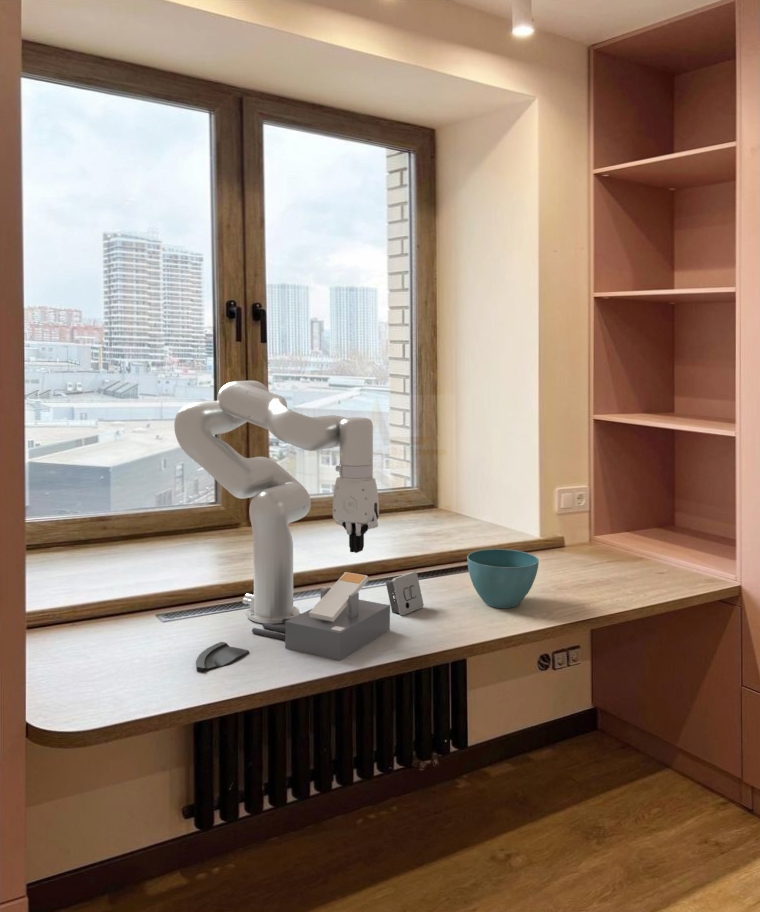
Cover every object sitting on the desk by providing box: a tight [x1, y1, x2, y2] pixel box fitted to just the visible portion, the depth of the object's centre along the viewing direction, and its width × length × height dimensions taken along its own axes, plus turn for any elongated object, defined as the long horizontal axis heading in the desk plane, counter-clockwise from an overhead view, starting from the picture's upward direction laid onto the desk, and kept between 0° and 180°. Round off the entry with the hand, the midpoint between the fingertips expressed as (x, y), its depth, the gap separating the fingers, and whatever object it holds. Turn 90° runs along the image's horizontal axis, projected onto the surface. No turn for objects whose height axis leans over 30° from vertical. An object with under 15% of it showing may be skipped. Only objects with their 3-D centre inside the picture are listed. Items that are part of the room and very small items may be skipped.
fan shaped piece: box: [195, 641, 250, 673], centre depth 170 cm, size 8×14×2 cm, turn 153°
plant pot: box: [466, 548, 540, 609], centre depth 211 cm, size 18×18×12 cm
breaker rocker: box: [309, 571, 369, 622], centre depth 183 cm, size 6×16×1 cm, turn 151°
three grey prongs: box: [251, 619, 289, 641], centre depth 188 cm, size 12×10×1 cm
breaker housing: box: [284, 586, 391, 661], centre depth 183 cm, size 14×22×11 cm, turn 151°
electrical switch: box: [385, 571, 424, 616], centre depth 205 cm, size 9×5×9 cm, turn 141°
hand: (356, 551), depth 187 cm, fingers closed
